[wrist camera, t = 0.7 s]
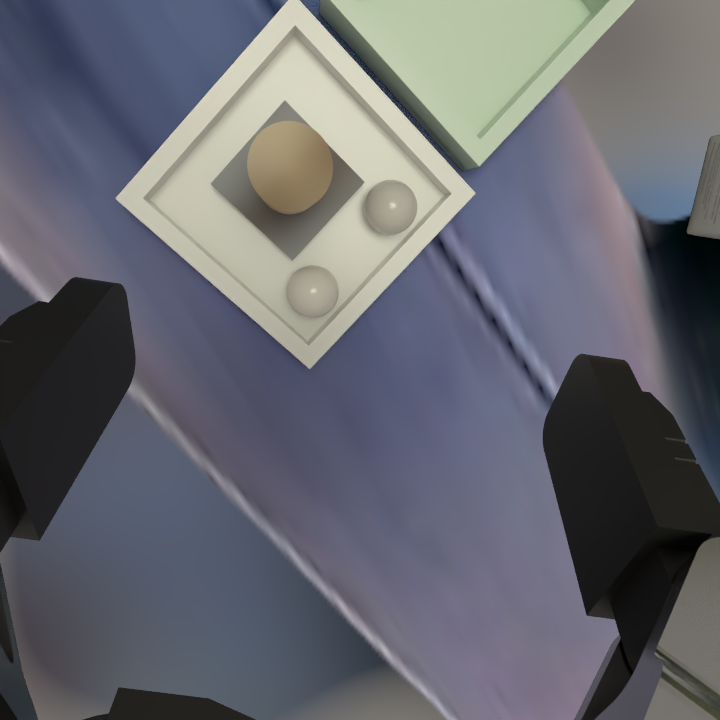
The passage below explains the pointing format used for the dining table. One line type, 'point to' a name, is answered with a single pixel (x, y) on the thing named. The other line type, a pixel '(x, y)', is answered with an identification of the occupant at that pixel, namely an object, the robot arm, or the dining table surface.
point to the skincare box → (708, 195)
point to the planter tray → (470, 59)
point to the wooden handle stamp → (287, 181)
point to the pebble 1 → (312, 291)
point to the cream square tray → (342, 133)
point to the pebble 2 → (390, 207)
